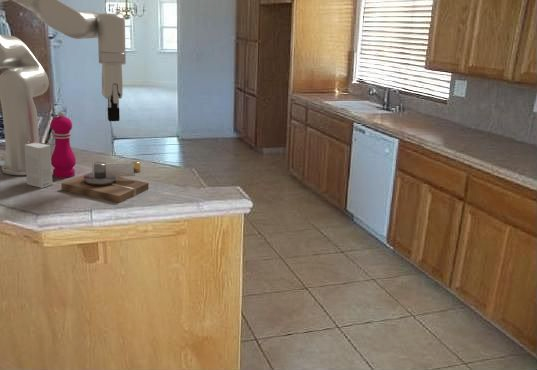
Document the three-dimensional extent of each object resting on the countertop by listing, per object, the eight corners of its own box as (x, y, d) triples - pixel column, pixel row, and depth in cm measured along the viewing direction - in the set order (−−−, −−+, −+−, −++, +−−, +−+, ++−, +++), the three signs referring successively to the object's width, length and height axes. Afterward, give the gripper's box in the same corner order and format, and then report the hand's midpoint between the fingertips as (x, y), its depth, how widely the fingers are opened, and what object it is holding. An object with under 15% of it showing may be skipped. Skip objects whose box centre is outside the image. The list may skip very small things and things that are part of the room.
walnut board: (61, 189, 150) (61, 182, 149) (94, 177, 162) (93, 171, 161) (119, 202, 143) (119, 195, 142) (148, 189, 156) (148, 182, 155)
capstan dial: (85, 186, 147) (84, 168, 145) (82, 177, 155) (81, 160, 153) (143, 183, 153) (143, 166, 152) (137, 174, 161) (137, 158, 159)
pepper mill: (68, 179, 158) (65, 114, 152) (46, 176, 160) (42, 112, 153) (80, 173, 165) (78, 110, 159) (60, 170, 166) (57, 108, 160)
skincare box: (53, 184, 153) (51, 145, 149) (41, 188, 149) (39, 148, 146) (38, 180, 155) (35, 141, 152) (26, 184, 152) (23, 144, 148)
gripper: (95, 55, 156) (97, 116, 161) (101, 60, 143) (103, 126, 148) (121, 56, 159) (122, 115, 164) (129, 61, 146) (130, 125, 151)
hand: (113, 120), depth 156 cm, fingers closed
